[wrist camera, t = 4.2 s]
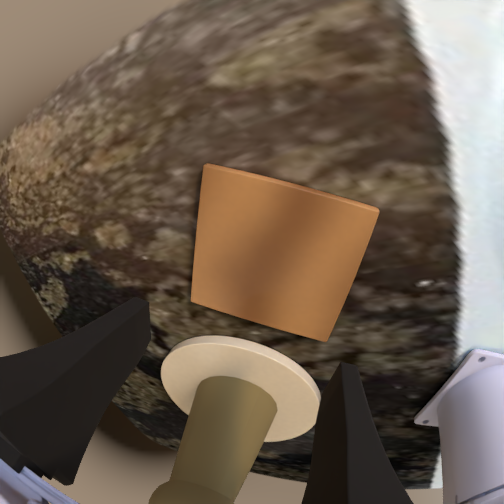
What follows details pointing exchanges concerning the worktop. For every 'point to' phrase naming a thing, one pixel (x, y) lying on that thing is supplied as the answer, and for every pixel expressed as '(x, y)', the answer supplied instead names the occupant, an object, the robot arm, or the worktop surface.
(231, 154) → the worktop surface
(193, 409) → the pepper shaker
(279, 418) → the plate
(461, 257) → the worktop surface
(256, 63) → the worktop surface
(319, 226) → the cork trivet
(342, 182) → the worktop surface
